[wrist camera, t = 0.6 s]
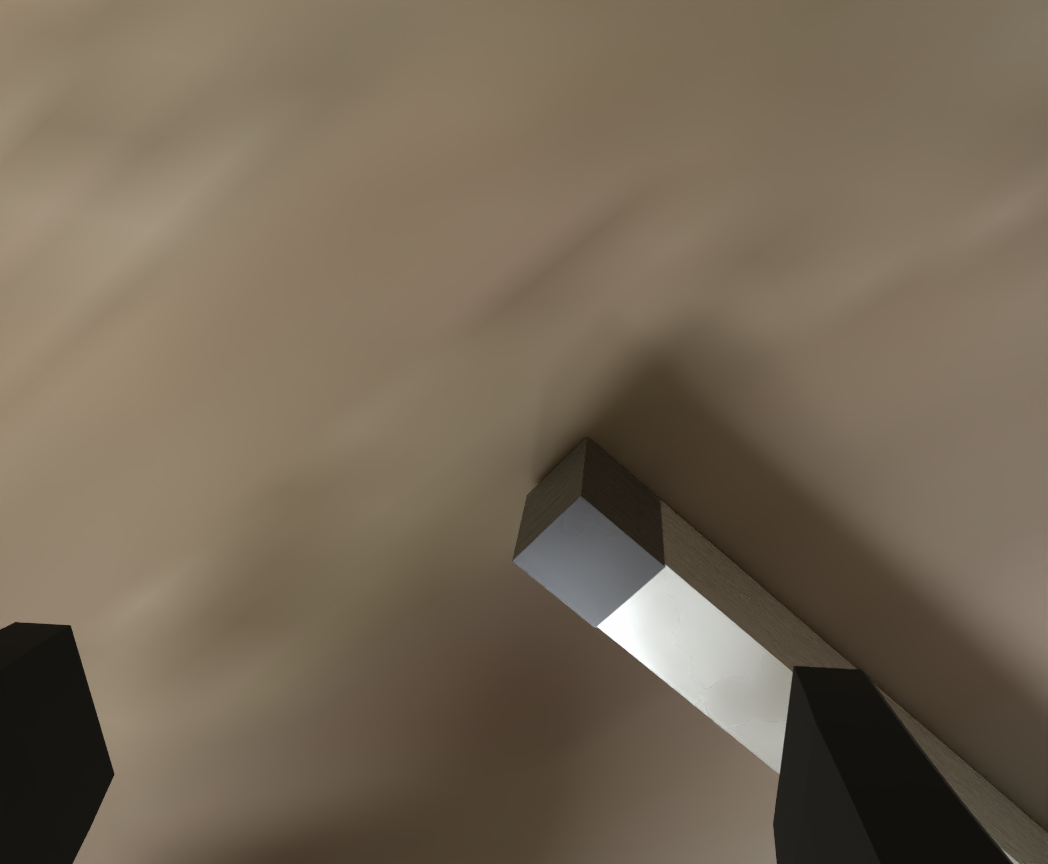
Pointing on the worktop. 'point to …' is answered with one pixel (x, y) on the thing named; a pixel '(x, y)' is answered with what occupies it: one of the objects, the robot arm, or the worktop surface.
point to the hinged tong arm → (704, 620)
